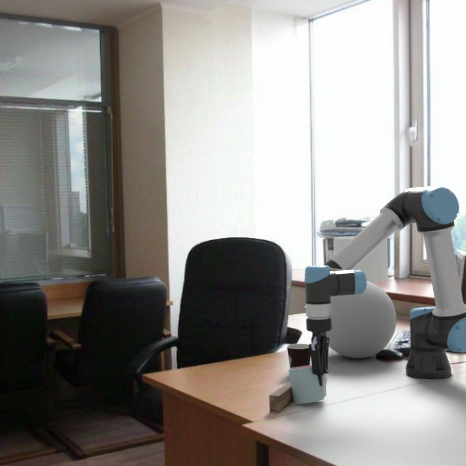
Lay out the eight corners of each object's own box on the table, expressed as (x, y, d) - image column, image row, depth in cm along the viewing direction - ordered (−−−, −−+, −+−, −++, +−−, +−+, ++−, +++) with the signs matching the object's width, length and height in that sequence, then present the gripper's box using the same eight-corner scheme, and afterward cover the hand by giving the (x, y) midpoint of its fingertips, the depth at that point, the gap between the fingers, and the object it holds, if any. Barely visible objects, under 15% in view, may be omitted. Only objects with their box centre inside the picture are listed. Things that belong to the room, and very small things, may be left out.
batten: (309, 390, 228) (308, 375, 228) (279, 413, 205) (278, 396, 205) (300, 389, 230) (299, 374, 229) (269, 412, 206) (269, 395, 206)
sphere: (314, 350, 290) (313, 276, 289) (389, 348, 289) (387, 274, 288) (321, 367, 260) (319, 285, 259) (404, 365, 259) (402, 283, 258)
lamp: (397, 337, 312) (394, 235, 310) (377, 347, 292) (375, 238, 291) (348, 333, 324) (346, 235, 322) (327, 342, 305) (324, 238, 303)
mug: (309, 403, 207) (304, 368, 208) (287, 403, 214) (282, 370, 215) (340, 395, 216) (335, 362, 217) (317, 395, 223) (312, 363, 224)
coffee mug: (311, 377, 245) (310, 348, 245) (286, 377, 247) (285, 348, 246) (314, 369, 256) (313, 342, 256) (290, 369, 258) (289, 341, 258)
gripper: (313, 314, 220) (316, 389, 221) (299, 320, 208) (301, 400, 209) (337, 314, 217) (339, 391, 218) (324, 321, 205) (326, 402, 206)
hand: (321, 395), depth 213 cm, fingers closed
